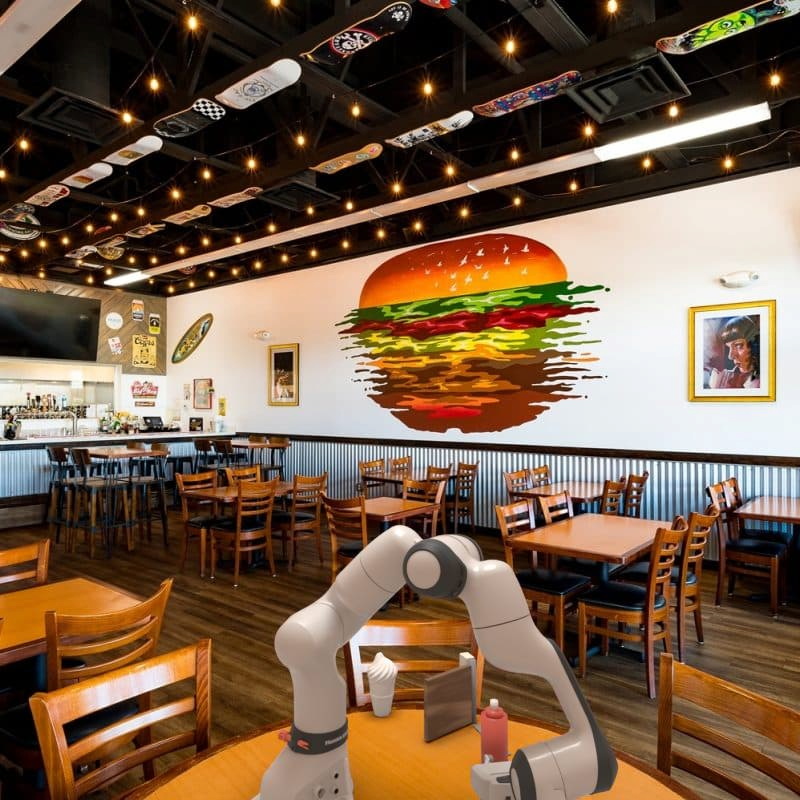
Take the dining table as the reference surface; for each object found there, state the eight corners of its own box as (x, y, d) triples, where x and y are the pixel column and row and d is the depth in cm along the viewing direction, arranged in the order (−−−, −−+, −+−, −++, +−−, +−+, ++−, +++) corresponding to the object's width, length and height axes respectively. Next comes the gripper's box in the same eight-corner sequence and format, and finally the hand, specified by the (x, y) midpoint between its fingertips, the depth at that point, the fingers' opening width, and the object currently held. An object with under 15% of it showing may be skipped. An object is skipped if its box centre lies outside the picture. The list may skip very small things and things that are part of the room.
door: (419, 736, 150) (419, 676, 150) (463, 717, 159) (463, 662, 160) (428, 741, 147) (428, 680, 148) (471, 722, 157) (471, 665, 157)
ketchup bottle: (499, 780, 132) (499, 709, 133) (476, 770, 136) (475, 701, 137) (513, 768, 137) (512, 699, 138) (489, 759, 141) (489, 692, 141)
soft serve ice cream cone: (403, 711, 164) (403, 651, 165) (386, 724, 157) (386, 661, 158) (377, 703, 169) (377, 645, 169) (360, 715, 162) (360, 654, 162)
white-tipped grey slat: (502, 756, 142) (502, 687, 142) (459, 713, 163) (459, 653, 163) (511, 754, 142) (511, 685, 143) (467, 712, 163) (467, 652, 164)
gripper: (586, 772, 116) (555, 736, 130) (484, 783, 112) (462, 744, 126) (586, 806, 116) (555, 766, 129) (484, 818, 112) (462, 776, 126)
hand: (508, 755), depth 128 cm, fingers open, 8 cm apart
